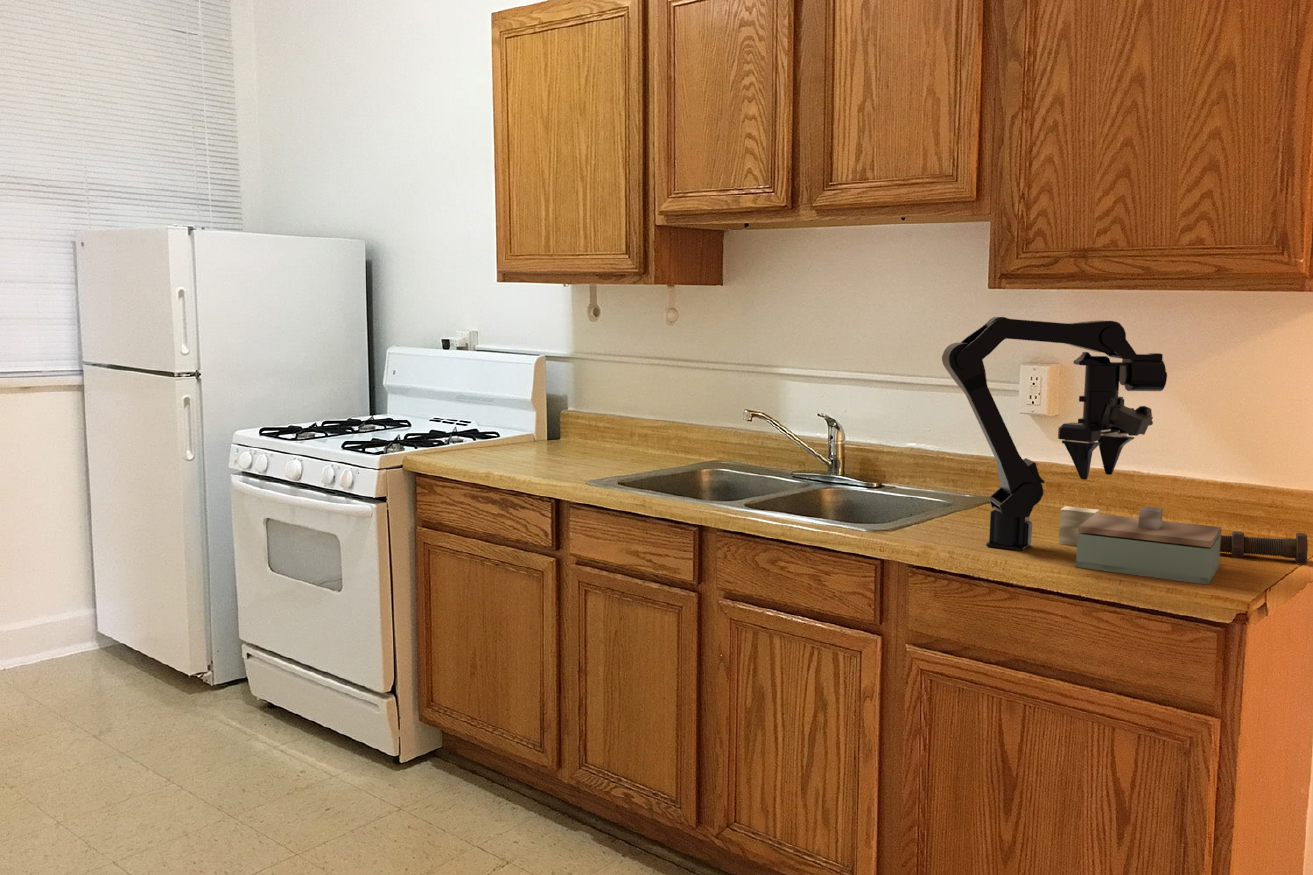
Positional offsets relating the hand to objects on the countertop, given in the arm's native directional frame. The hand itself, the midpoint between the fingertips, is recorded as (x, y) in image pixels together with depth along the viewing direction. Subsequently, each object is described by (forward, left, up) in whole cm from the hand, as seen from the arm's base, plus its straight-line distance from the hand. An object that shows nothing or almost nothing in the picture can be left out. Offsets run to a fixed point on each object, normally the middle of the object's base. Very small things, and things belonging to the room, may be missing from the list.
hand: (1096, 476), depth 196 cm
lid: (+11, -11, -7) cm, 17 cm away
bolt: (+25, +10, -14) cm, 30 cm away
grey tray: (+11, -8, -13) cm, 19 cm away
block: (-3, +2, -13) cm, 14 cm away
